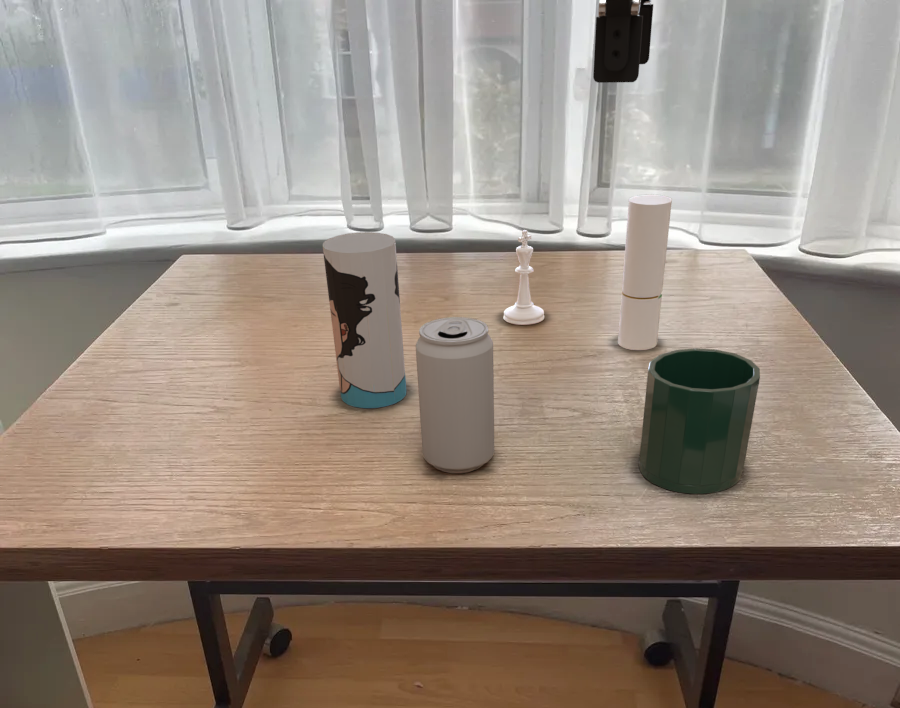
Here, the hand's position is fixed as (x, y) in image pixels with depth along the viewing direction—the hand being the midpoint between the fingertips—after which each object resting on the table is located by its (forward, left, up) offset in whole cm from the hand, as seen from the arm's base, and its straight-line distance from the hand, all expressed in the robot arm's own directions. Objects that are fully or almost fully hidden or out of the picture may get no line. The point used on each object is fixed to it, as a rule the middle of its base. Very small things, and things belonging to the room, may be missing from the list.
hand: (622, 72), depth 69 cm
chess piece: (+12, -25, -29) cm, 40 cm away
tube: (-2, -19, -29) cm, 34 cm away
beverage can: (+11, +11, -29) cm, 33 cm away
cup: (+23, -1, -29) cm, 37 cm away
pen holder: (-9, +9, -28) cm, 31 cm away
